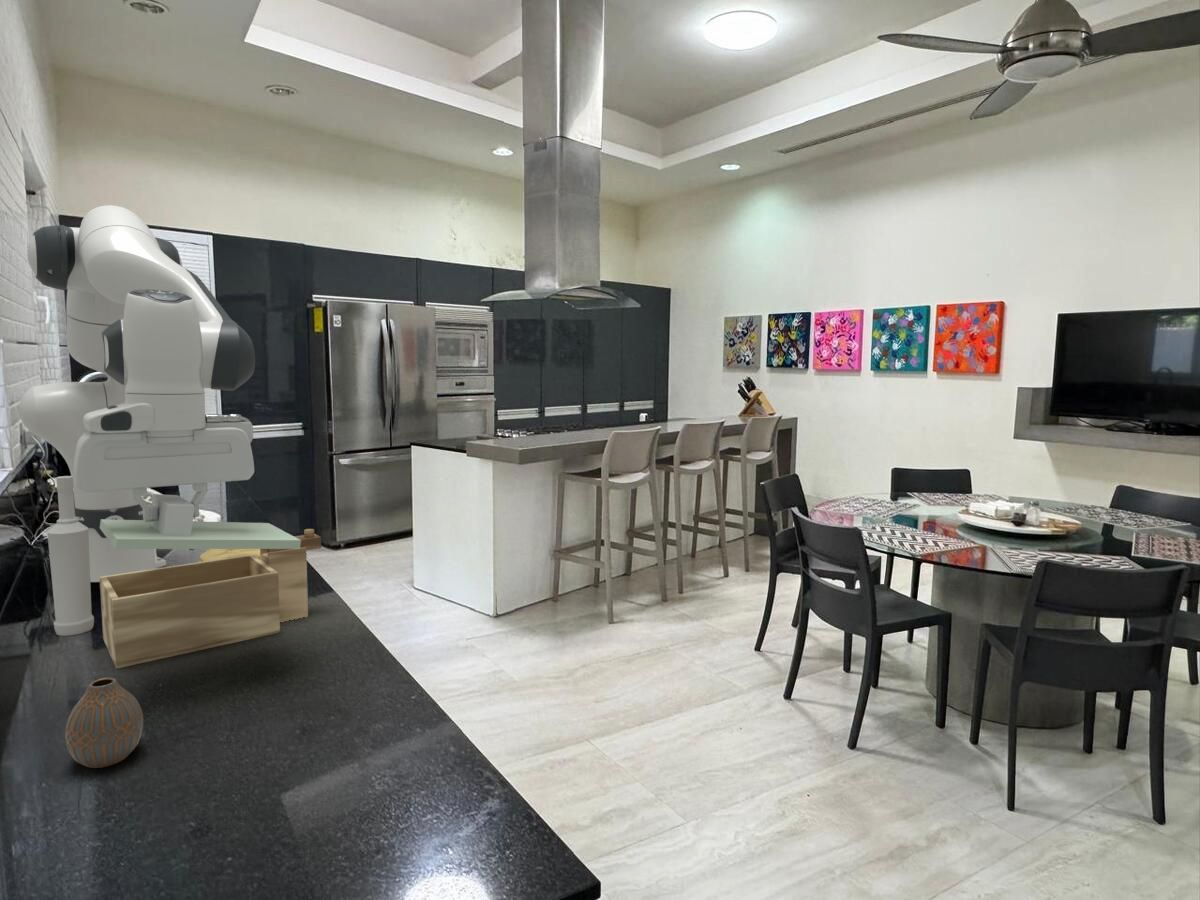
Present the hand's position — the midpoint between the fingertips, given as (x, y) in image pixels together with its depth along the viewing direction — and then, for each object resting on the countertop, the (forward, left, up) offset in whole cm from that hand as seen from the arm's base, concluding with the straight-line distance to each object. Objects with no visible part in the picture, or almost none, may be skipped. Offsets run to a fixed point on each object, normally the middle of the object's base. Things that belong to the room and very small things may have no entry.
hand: (171, 518), depth 92 cm
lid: (0, +3, -3) cm, 5 cm away
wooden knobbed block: (-16, +21, -11) cm, 29 cm away
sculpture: (-33, +15, -23) cm, 43 cm away
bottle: (-30, -9, -23) cm, 39 cm away
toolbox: (-16, +8, -23) cm, 29 cm away
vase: (+17, -10, -23) cm, 30 cm away
